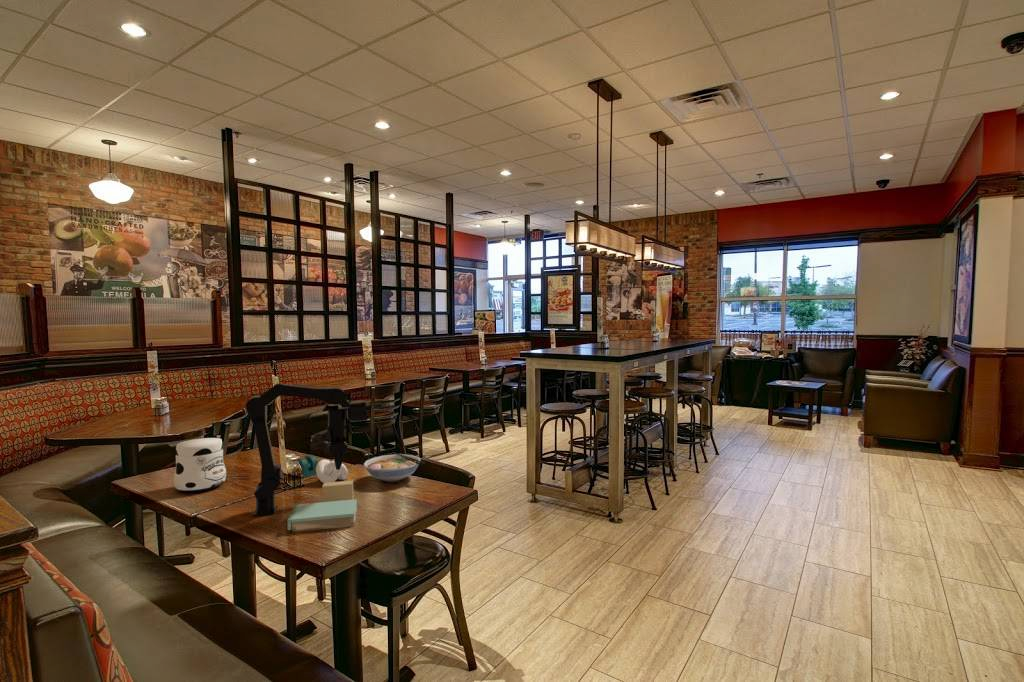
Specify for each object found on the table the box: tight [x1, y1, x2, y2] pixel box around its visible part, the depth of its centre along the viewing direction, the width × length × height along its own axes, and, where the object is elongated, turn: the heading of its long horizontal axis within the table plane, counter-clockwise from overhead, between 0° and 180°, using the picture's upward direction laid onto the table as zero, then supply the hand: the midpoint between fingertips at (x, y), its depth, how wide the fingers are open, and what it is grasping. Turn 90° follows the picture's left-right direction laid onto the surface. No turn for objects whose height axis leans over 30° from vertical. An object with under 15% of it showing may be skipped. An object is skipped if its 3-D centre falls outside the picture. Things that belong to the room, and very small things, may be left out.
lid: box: [287, 498, 358, 531], centre depth 156 cm, size 13×19×3 cm
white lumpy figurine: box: [316, 458, 349, 484], centre depth 198 cm, size 11×12×9 cm
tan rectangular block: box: [321, 480, 354, 502], centre depth 173 cm, size 4×10×7 cm, turn 104°
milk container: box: [173, 437, 227, 493], centre depth 190 cm, size 17×17×18 cm
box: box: [291, 503, 358, 533], centre depth 156 cm, size 13×18×3 cm
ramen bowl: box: [363, 451, 426, 483], centre depth 199 cm, size 25×23×8 cm
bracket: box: [281, 454, 319, 479], centre depth 208 cm, size 18×7×8 cm, turn 60°
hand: (337, 466), depth 173 cm, fingers open, 8 cm apart
